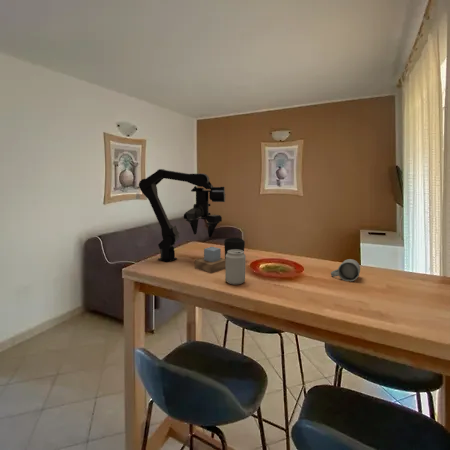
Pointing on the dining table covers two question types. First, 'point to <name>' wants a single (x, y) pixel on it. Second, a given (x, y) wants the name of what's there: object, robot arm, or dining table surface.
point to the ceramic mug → (347, 270)
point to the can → (235, 267)
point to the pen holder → (233, 244)
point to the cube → (212, 254)
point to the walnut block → (210, 265)
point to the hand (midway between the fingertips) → (202, 235)
